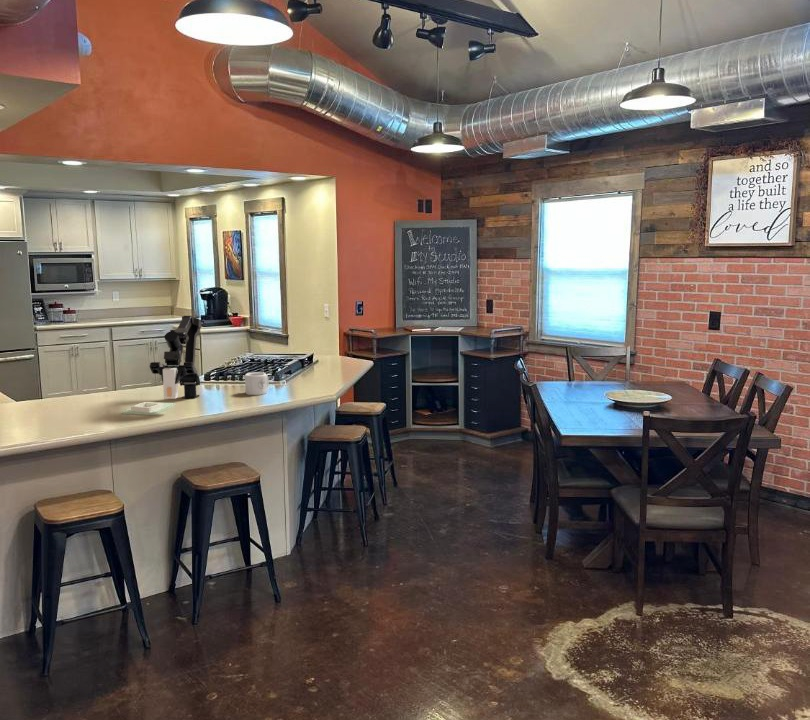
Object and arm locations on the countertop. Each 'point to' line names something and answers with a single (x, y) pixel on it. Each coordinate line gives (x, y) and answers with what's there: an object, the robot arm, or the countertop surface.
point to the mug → (256, 383)
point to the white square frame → (146, 407)
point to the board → (165, 406)
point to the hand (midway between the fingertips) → (169, 383)
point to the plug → (170, 383)
